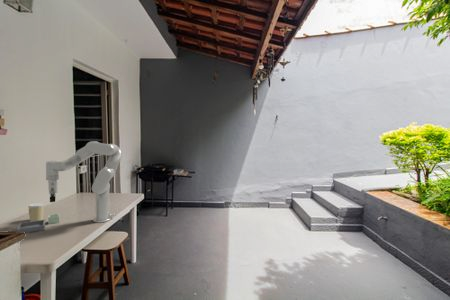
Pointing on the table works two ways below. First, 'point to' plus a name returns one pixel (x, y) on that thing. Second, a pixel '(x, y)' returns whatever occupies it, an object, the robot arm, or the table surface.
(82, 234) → the table surface
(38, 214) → the coffee cup
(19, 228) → the large crate
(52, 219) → the box
